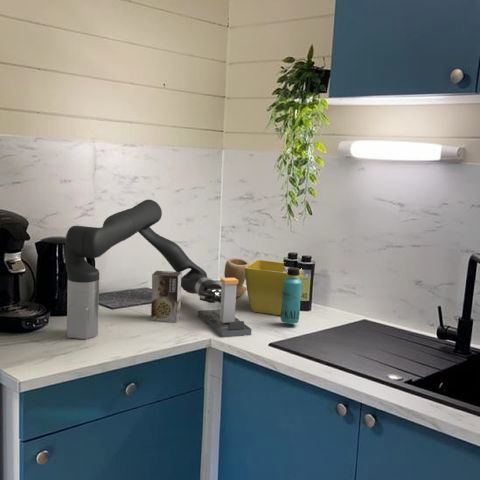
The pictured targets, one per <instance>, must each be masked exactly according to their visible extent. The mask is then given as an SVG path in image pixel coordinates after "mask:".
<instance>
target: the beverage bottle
mask: <svg viewBox="0 0 480 480" xmlns="http://www.w3.org/2000/svg"><path fill="white" fill-rule="evenodd" d="M287 274H288V275H292V276H298V275H300V273H299V269H298V268H288V272H287ZM302 284H303V280H302V281H301V280H300V279H299V278H296V277H287V278H286V279H285V280H284V285H283V293H282V309H281V315H280V321H281V322H282V323H283V324H284V323H285V324H291V325H292V324H298V323H299V321H300V311H301V298H302V297H301V295H302V287H303V286H302Z"/></svg>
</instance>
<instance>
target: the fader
mask: <svg viewBox="0 0 480 480" xmlns="http://www.w3.org/2000/svg"><path fill="white" fill-rule="evenodd" d="M219 281H220V283H221V287H222V291H221V303H220V321H222V322H223V323H228V322H235V317H236V304H237V302H236V300H237V297H236V288H237V284H238V282H239V280H237V279H236V278H225V277H221V278H220V280H219Z"/></svg>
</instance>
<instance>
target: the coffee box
mask: <svg viewBox="0 0 480 480" xmlns="http://www.w3.org/2000/svg"><path fill="white" fill-rule="evenodd" d="M182 272H183V271H181V272H176V271H170V270H169V271H168V270H156V271H154V272H153V273H152V274H151V305H150V306H151V308H150V309H151V313H150V314H151V315H150V321H152V322H154V321H155V322H169V323H178V321H179V320H180V319H181V301H182V299H181V298H182V287H181V278H182V277H183V275H182V274H183V273H182Z"/></svg>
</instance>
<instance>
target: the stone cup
mask: <svg viewBox="0 0 480 480" xmlns="http://www.w3.org/2000/svg"><path fill="white" fill-rule="evenodd" d="M248 265H250V264H249V262H248V261H247V260H244V259H242V258H238V257H235V258H234V257H231V258H229V259H227V260H226V263H225V266H224V272H223V273H224V278H236V279H237V280H239V282H238V284H237V288H236V298H238V297H240V296H242V295H243V294H244V293H246V292H247V287H246V286H244V284H245V282H246V277H245V267H246V266H248Z"/></svg>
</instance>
